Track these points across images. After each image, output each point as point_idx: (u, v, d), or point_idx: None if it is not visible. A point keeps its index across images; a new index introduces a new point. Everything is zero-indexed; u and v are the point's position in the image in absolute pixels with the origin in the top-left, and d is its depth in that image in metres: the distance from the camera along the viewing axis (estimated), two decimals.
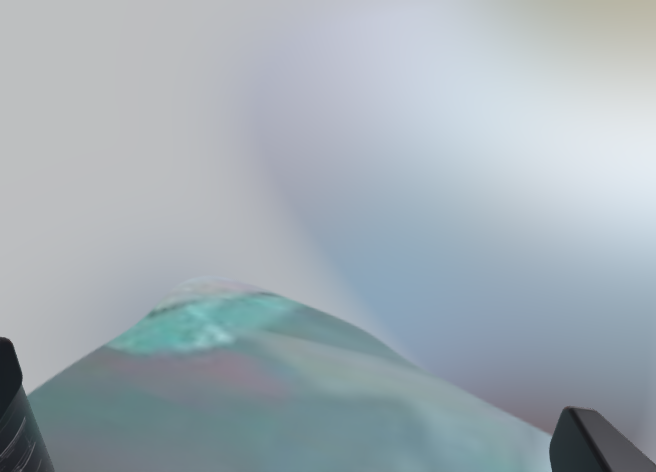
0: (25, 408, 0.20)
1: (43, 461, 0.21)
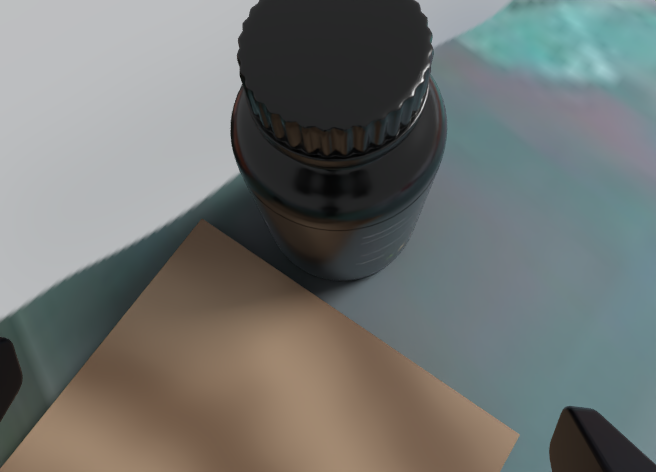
0: None
1: None
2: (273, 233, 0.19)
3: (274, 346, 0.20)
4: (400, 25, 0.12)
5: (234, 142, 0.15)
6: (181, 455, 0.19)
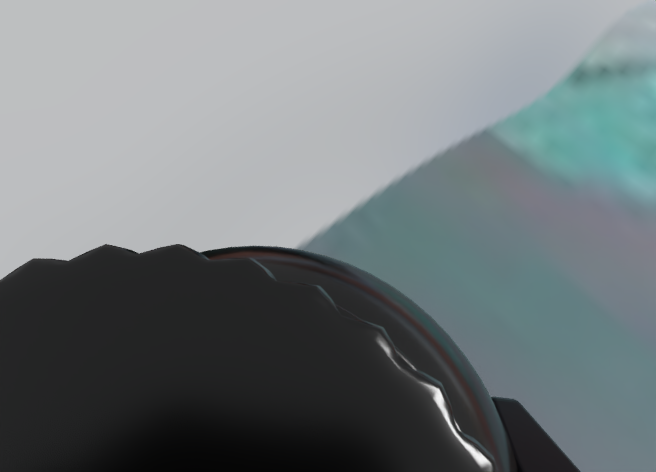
0: None
1: None
2: None
3: None
4: None
5: None
6: None
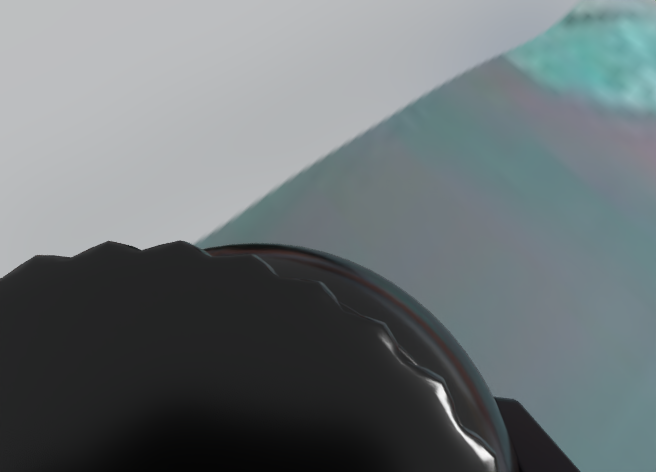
0: None
1: None
2: None
3: None
4: None
5: None
6: None
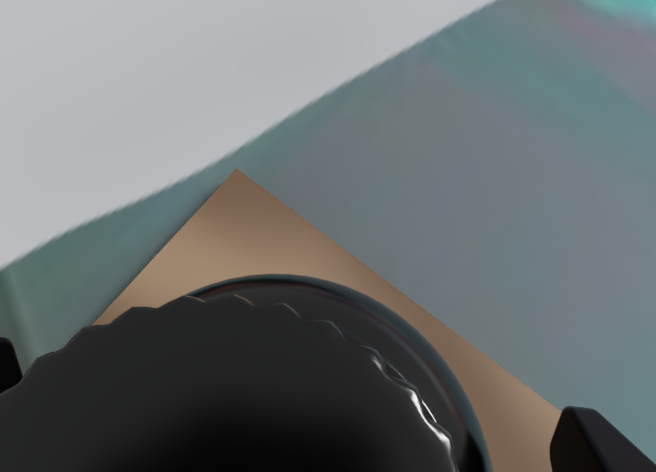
0: None
1: None
2: None
3: None
4: None
5: None
6: None
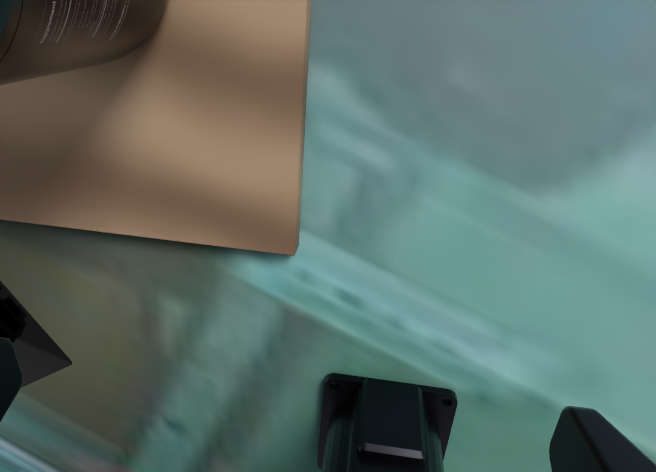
0: None
1: None
2: None
3: None
4: None
5: None
6: None
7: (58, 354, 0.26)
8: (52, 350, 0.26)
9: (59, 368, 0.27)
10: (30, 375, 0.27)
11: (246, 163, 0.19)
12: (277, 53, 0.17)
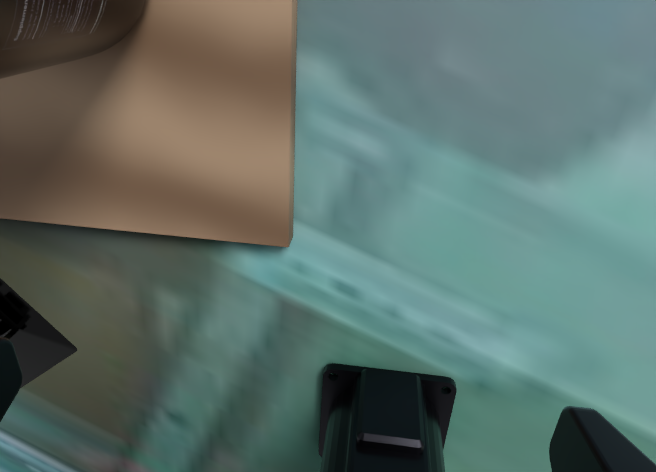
0: None
1: None
2: None
3: None
4: None
5: None
6: None
7: (62, 341, 0.26)
8: (56, 338, 0.26)
9: (65, 356, 0.26)
10: (39, 366, 0.27)
11: (236, 155, 0.19)
12: (264, 42, 0.17)
